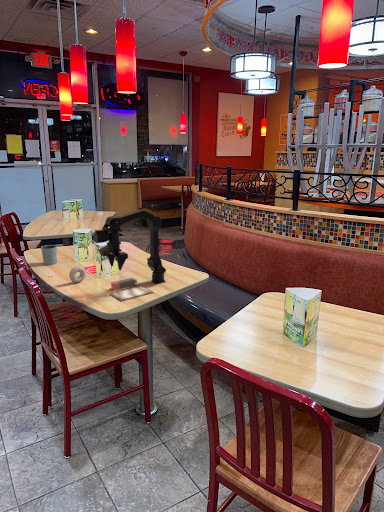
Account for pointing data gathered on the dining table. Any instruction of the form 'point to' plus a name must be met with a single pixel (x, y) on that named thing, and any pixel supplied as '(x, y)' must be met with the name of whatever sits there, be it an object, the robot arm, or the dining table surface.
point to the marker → (123, 283)
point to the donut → (81, 276)
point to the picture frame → (131, 293)
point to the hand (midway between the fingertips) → (115, 268)
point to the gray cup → (49, 254)
